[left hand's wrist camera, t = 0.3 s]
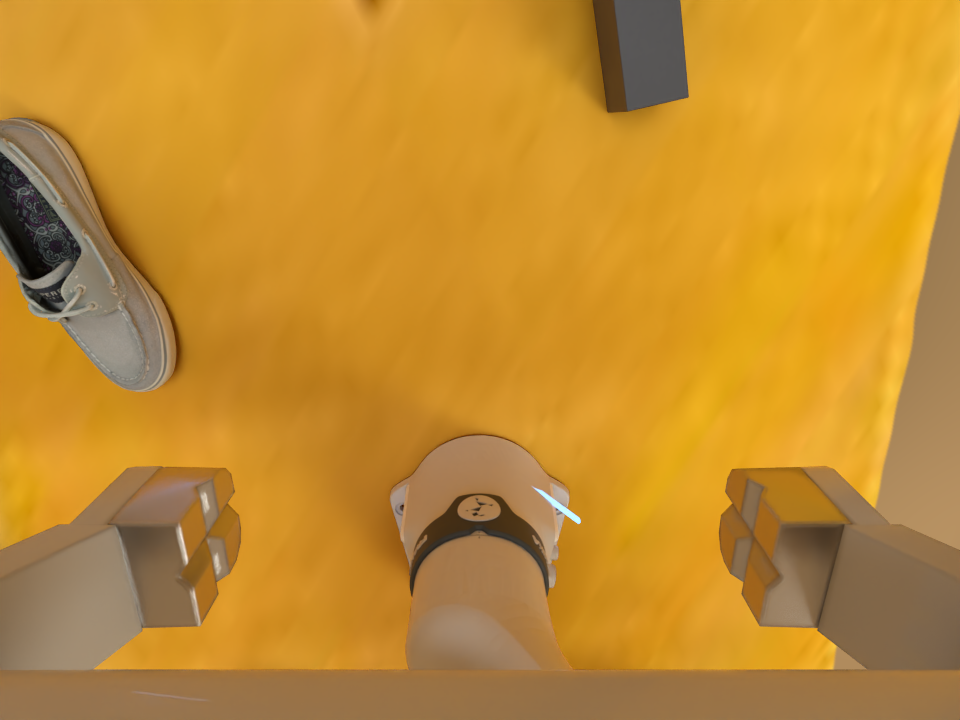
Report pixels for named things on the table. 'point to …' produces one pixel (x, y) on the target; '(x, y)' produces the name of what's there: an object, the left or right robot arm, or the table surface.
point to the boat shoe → (77, 260)
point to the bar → (641, 52)
